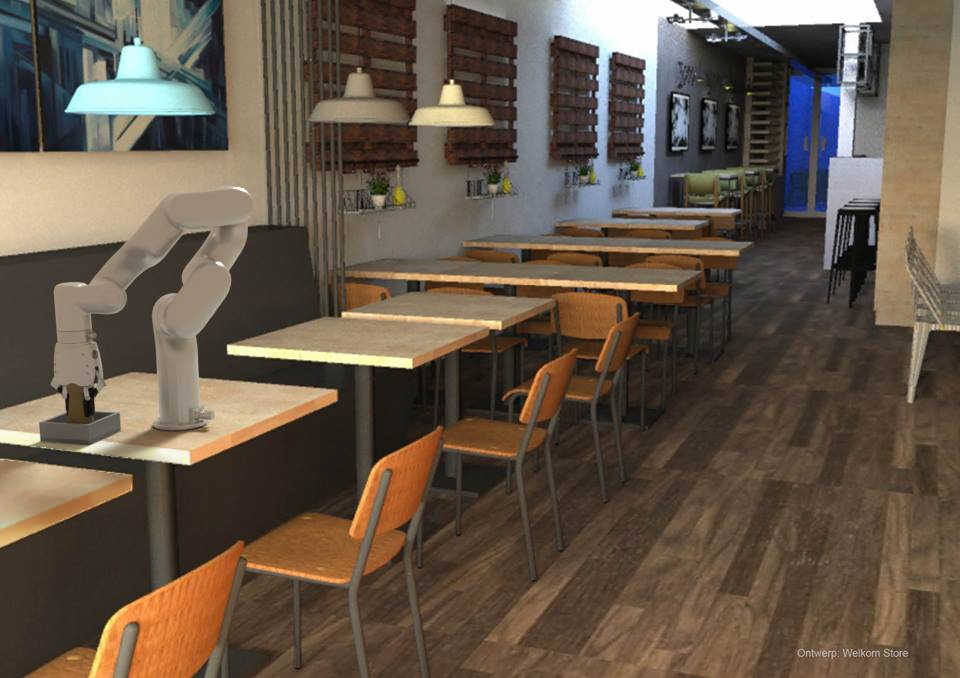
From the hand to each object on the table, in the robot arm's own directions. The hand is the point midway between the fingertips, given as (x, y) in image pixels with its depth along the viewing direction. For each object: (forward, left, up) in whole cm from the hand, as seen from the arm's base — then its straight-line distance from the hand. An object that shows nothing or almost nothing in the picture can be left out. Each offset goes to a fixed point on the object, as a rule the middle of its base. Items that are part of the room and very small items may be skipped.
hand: (80, 414), depth 249 cm
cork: (0, 0, -3) cm, 3 cm away
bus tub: (0, 0, -5) cm, 5 cm away
